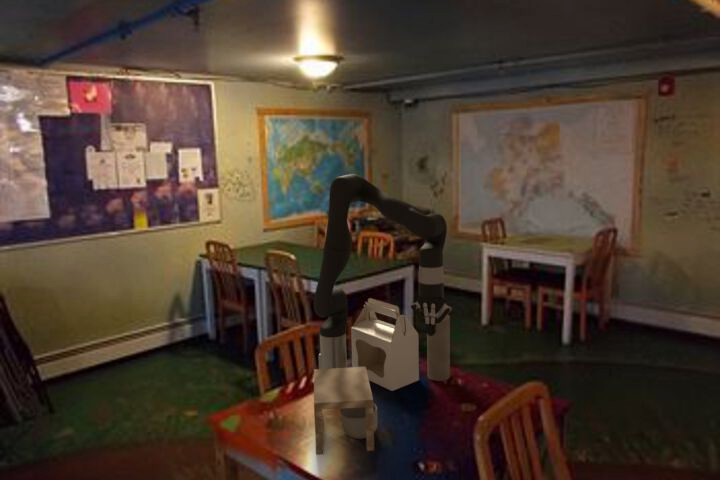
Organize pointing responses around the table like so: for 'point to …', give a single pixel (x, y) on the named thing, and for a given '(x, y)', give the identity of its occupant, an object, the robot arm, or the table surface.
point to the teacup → (356, 421)
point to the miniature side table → (342, 398)
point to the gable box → (385, 346)
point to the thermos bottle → (439, 351)
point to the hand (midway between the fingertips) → (431, 335)
